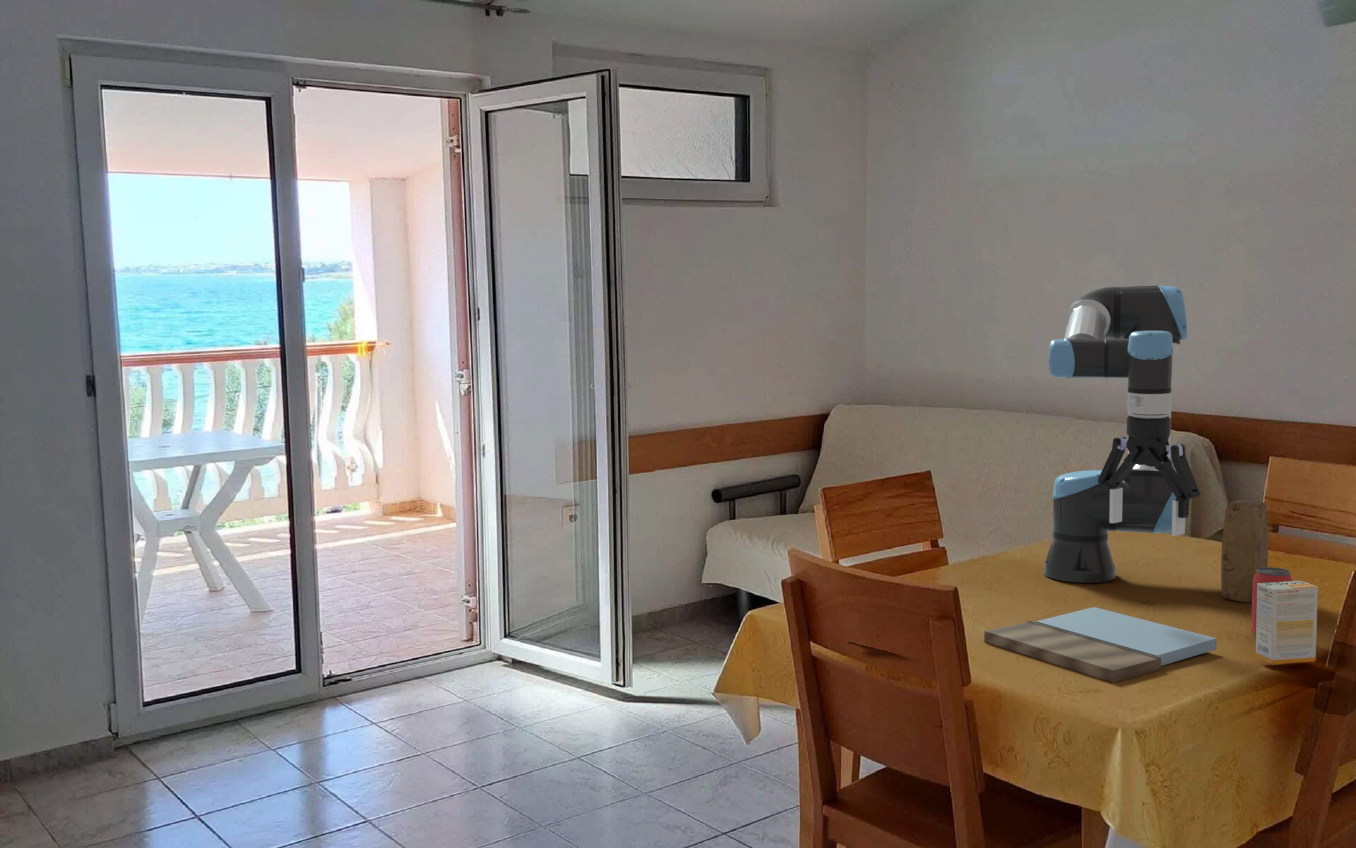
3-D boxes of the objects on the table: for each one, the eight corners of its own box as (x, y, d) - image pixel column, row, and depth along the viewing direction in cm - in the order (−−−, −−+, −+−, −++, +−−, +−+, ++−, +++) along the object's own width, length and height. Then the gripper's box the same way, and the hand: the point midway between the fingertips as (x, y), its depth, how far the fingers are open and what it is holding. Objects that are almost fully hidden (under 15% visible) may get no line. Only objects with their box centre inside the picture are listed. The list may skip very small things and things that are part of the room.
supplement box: (1298, 654, 202) (1300, 579, 200) (1316, 662, 197) (1319, 586, 196) (1253, 656, 201) (1256, 582, 199) (1270, 665, 196) (1273, 588, 195)
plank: (1036, 631, 218) (1036, 621, 217) (1093, 617, 226) (1093, 607, 226) (1156, 667, 195) (1157, 655, 195) (1216, 649, 204) (1216, 638, 203)
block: (1256, 605, 234) (1260, 507, 232) (1217, 600, 239) (1220, 503, 237) (1270, 595, 242) (1274, 499, 240) (1232, 590, 247) (1235, 496, 245)
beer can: (1289, 641, 209) (1292, 576, 208) (1249, 636, 213) (1251, 572, 211) (1292, 633, 215) (1295, 568, 213) (1253, 628, 218) (1255, 565, 217)
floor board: (984, 641, 212) (984, 630, 212) (1030, 631, 218) (1030, 620, 218) (1112, 682, 188) (1113, 670, 188) (1160, 669, 194) (1161, 657, 194)
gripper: (1080, 411, 224) (1078, 519, 226) (1196, 423, 202) (1192, 543, 205) (1106, 407, 227) (1104, 514, 230) (1223, 419, 206) (1219, 537, 209)
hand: (1146, 528), depth 218 cm, fingers open, 13 cm apart
